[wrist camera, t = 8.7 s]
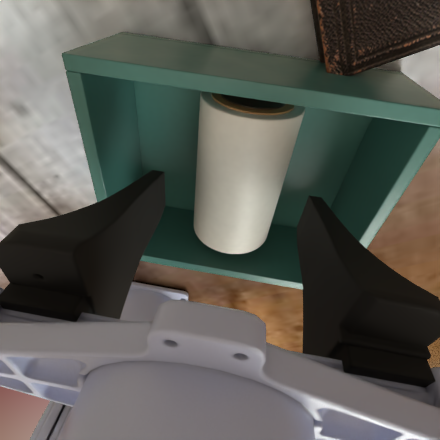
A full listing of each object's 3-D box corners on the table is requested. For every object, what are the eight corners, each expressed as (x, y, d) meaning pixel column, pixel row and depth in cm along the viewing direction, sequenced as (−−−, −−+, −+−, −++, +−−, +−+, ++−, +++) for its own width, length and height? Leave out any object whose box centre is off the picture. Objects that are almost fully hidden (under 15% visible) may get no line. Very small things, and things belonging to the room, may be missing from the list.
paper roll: (261, 264, 16) (182, 244, 17) (270, 214, 20) (205, 198, 20) (305, 126, 11) (185, 102, 11) (306, 90, 14) (216, 74, 15)
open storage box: (323, 234, 21) (335, 295, 17) (141, 203, 22) (110, 255, 18) (402, 72, 14) (457, 112, 10) (121, 31, 14) (60, 52, 10)
